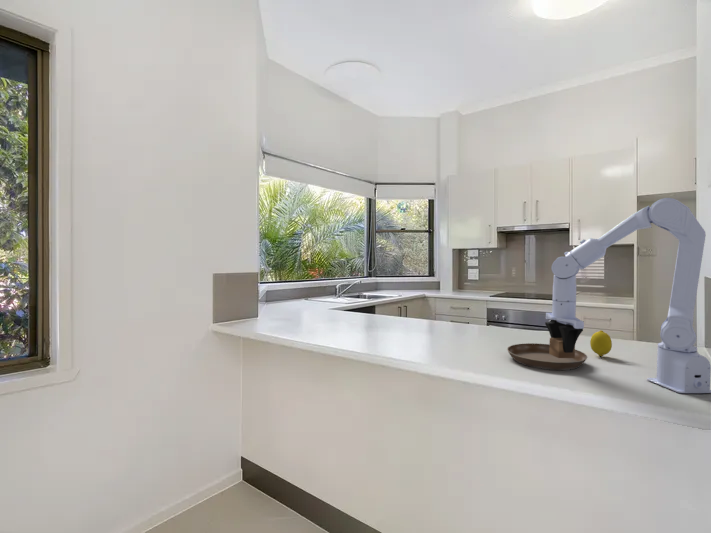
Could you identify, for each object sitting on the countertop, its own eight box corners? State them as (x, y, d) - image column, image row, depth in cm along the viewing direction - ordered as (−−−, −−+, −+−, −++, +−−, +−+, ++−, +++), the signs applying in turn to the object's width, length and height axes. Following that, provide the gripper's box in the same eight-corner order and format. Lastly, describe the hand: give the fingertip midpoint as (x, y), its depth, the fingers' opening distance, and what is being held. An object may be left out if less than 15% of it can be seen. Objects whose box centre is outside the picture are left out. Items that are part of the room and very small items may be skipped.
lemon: (614, 359, 114) (615, 332, 114) (594, 358, 115) (594, 331, 115) (606, 354, 120) (607, 329, 119) (586, 353, 121) (587, 328, 120)
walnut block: (574, 358, 104) (575, 341, 104) (558, 358, 104) (558, 341, 104) (564, 353, 109) (565, 337, 109) (549, 353, 109) (549, 337, 108)
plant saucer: (541, 376, 99) (541, 363, 99) (492, 355, 119) (492, 344, 119) (605, 370, 104) (605, 358, 104) (548, 351, 124) (548, 341, 124)
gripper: (536, 297, 113) (534, 343, 113) (565, 304, 98) (564, 356, 99) (559, 297, 113) (558, 343, 114) (592, 304, 99) (590, 356, 99)
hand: (562, 349), depth 106 cm, fingers closed on walnut block, 4 cm apart
